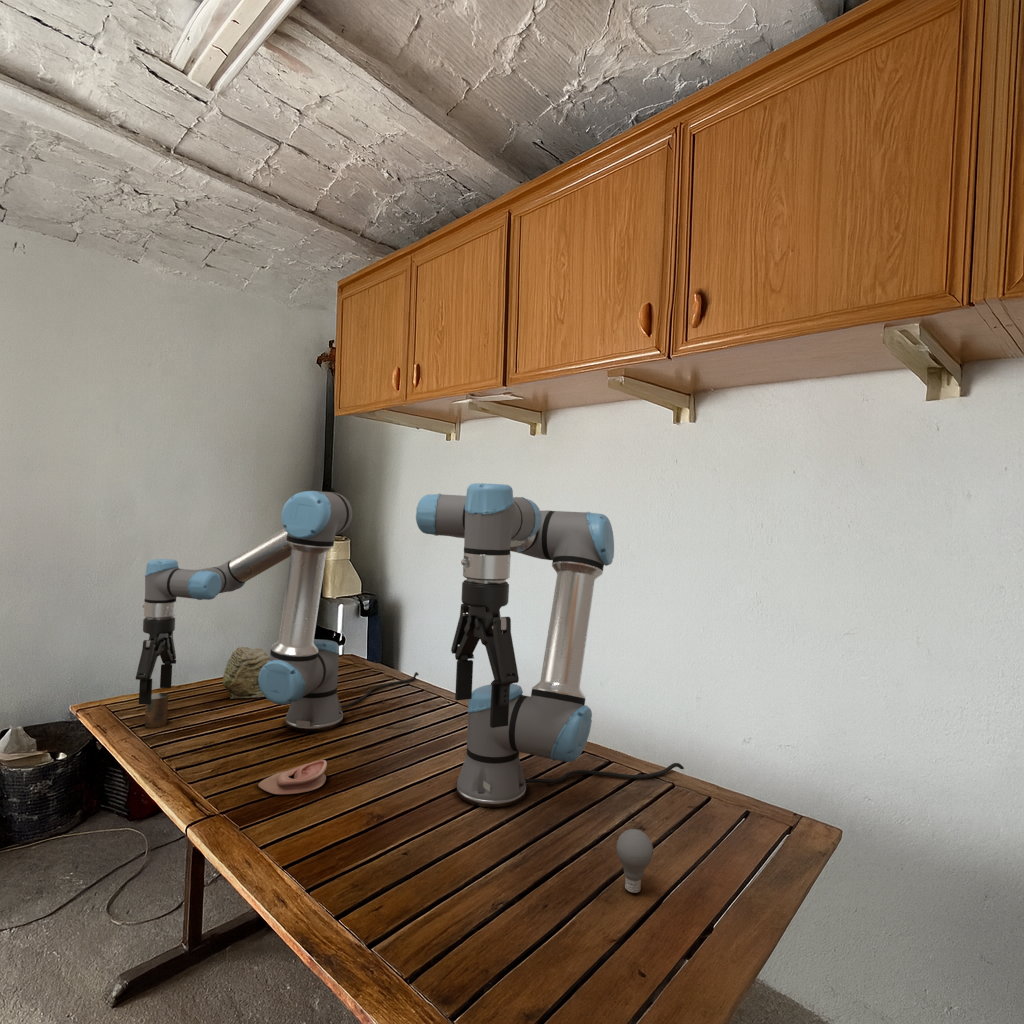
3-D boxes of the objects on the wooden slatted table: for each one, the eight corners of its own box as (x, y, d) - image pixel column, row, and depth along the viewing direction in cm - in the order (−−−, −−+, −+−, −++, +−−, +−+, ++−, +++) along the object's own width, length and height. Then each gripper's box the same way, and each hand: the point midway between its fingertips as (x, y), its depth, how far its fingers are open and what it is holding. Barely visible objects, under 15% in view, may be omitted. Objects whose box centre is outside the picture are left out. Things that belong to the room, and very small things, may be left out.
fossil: (218, 695, 195) (220, 647, 195) (278, 685, 208) (279, 640, 207) (228, 703, 189) (230, 653, 188) (289, 692, 201) (290, 645, 201)
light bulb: (610, 879, 108) (613, 822, 108) (644, 879, 109) (647, 822, 109) (619, 902, 102) (622, 840, 102) (655, 901, 103) (658, 840, 103)
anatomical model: (250, 772, 134) (280, 751, 146) (249, 790, 135) (280, 768, 146) (307, 780, 132) (333, 759, 143) (306, 799, 132) (333, 776, 143)
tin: (150, 720, 173) (151, 692, 173) (170, 721, 173) (171, 693, 173) (140, 727, 167) (141, 698, 167) (161, 727, 168) (162, 699, 168)
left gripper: (163, 608, 181) (159, 681, 182) (123, 626, 157) (119, 711, 157) (190, 609, 183) (187, 682, 183) (155, 627, 158) (151, 711, 158)
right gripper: (435, 570, 111) (430, 691, 111) (499, 592, 88) (493, 742, 89) (475, 570, 114) (470, 687, 114) (545, 590, 92) (539, 735, 92)
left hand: (155, 695), depth 170 cm, fingers open, 13 cm apart
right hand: (480, 712), depth 102 cm, fingers open, 13 cm apart
